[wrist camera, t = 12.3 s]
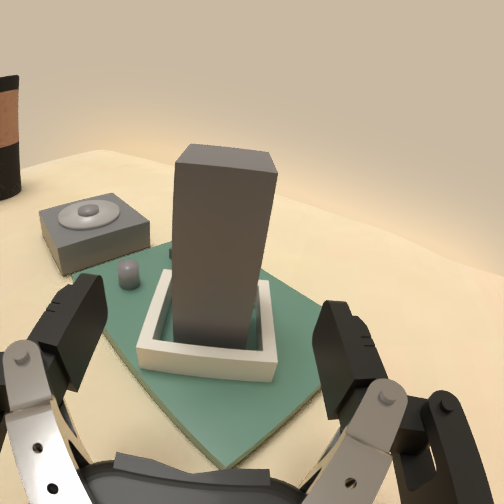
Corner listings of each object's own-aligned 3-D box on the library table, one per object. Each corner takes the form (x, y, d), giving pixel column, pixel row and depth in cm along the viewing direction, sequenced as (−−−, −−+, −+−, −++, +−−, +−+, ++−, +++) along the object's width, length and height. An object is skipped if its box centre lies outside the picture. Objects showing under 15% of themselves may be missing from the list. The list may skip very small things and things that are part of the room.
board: (73, 285, 24) (67, 254, 22) (201, 241, 34) (203, 214, 33) (224, 473, 13) (229, 453, 11) (360, 344, 23) (375, 315, 22)
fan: (42, 234, 30) (37, 204, 28) (113, 214, 37) (112, 186, 35) (63, 276, 25) (55, 240, 23) (150, 246, 31) (149, 214, 30)
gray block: (173, 352, 19) (175, 162, 13) (182, 305, 23) (190, 142, 17) (243, 358, 19) (277, 173, 13) (242, 311, 23) (268, 151, 17)
